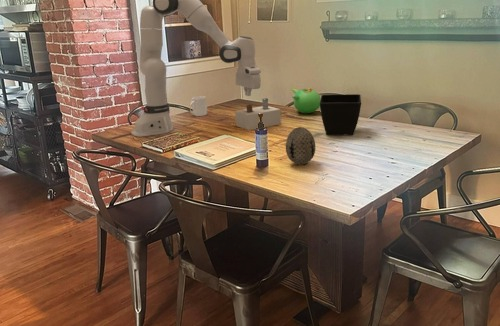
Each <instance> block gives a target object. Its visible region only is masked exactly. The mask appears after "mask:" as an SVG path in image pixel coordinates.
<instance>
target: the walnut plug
mask: <svg viewBox="0 0 500 326" xmlns="http://www.w3.org/2000/svg"><path fill="white" fill-rule="evenodd" d="M252 108H253V104H246V109H247V113H250V112H252Z"/></svg>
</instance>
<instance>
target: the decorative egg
mask: <svg viewBox="0 0 500 326" xmlns="http://www.w3.org/2000/svg"><path fill="white" fill-rule="evenodd" d="M285 152H286V155H287V157H288V159H289V160H290V161H291V162H292V163H294V164H295V165H306V164H308V163H309V162H310V161H312V159H313V158H314V156H315V154H316V141H315V138H314V135H313V134H312V132H311V131H310V130H309V129H307V128H306V127H304V126H303V127H302V126H300V127H299V126H298V127H296V128H294V129H292V130H291V131H290V132H289V133H288V135H287V138H286V141H285Z"/></svg>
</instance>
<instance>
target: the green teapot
mask: <svg viewBox="0 0 500 326" xmlns="http://www.w3.org/2000/svg"><path fill="white" fill-rule="evenodd" d="M291 91H292V92H293V93H294V95H292V99H293V105H294V108H295V110H297V112H300V113H302V114H311V113H314V112H317V110H319V109H320V100H321V95H320V94H319V93H318V92H317V91H316V90H315V89H313V87H308V88H303V89H300V90H299V89H296V88H294V87H292V88H291Z"/></svg>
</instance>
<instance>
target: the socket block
mask: <svg viewBox="0 0 500 326" xmlns="http://www.w3.org/2000/svg"><path fill="white" fill-rule="evenodd" d="M259 113H261V114H263V117H262V122H263V123H264V125H265V127H264V128H266V127H267V128H268V127H273V126H277V125H282V114H281V108H277V107H274V106H270V105H268V109H266V110H263V105H261V106H257V107H252V112H250V113H247V108H244V109H240V110H239V109H238V110H235V111H234V114H235V116H234V118H235V125H236V127H240V128H241V129H244V130H246V131H253V130H257V129H256V128H257V125H258V123H259V117H258V114H259Z"/></svg>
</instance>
